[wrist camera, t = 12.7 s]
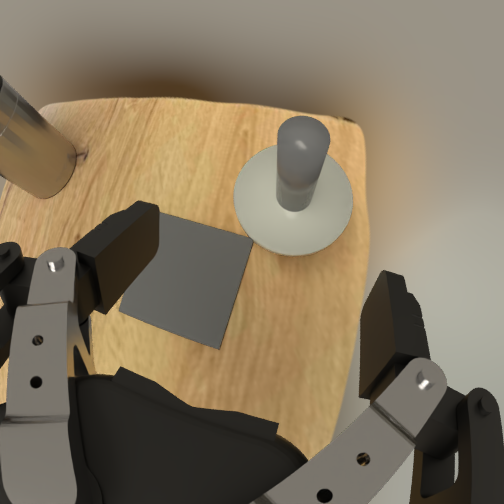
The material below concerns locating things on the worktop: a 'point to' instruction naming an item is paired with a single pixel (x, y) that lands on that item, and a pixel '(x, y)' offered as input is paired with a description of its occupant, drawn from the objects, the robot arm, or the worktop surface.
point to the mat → (190, 280)
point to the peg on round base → (294, 192)
